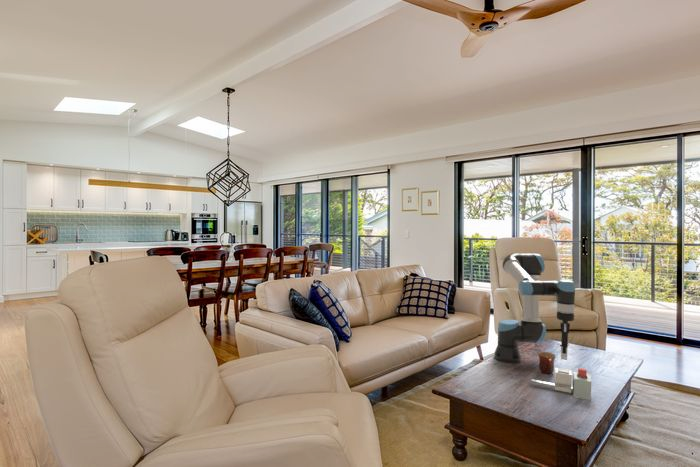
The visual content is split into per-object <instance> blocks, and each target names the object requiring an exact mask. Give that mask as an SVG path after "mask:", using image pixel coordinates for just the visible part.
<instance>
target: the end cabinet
mask: <svg viewBox="0 0 700 467" xmlns="http://www.w3.org/2000/svg"><path fill="white" fill-rule="evenodd" d="M572 373H573V374H572V387H573V394H572V395H573V398H577V399H581V400H586V401H591V400H592V379H591V378H592V377H591V374H589V373H587V376H586V377H580V376H578V371H573V372H572Z"/></svg>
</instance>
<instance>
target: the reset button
mask: <svg viewBox="0 0 700 467" xmlns="http://www.w3.org/2000/svg"><path fill="white" fill-rule="evenodd" d="M577 372H578V376H580V377H586V376H587V374H588V373H587V372H588V370H587V369H586V368H578V369H577Z"/></svg>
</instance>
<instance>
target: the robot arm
mask: <svg viewBox="0 0 700 467" xmlns="http://www.w3.org/2000/svg"><path fill="white" fill-rule="evenodd" d="M502 260H503V261H502V269H503V271H504V272H505V273H507V274H509V275H510V276H511V278H513V280H514V281H515V282H516V283H517V284H518V291H519V294H521V296H522V298H523V299H522V301H523V303H522V305H523V306H522V308H523V310H522V311H523V312H522V313H523V317H521V319H520V321H518V320H517V319H510V318H509V319H502V320H500V321H499V322H498V324H497V345H496V348H495V351H494V353H493V355H494V356H493V357H494V358H495V359H496V360H498V361H500V362H503V363H509V364H516V363H520V362H521V361H522V356H521V352H520V348H519V343H525V344H526V343H529V344H531V343H532V344H539V343H543V342H544V341H545V339H546V336H547V329H546V327H547V326H546V325H545V324H544V323H543V321H542V319H541V318H540V312H539V311H540V305H539V300H540V299H539V298H540V296H549V297H551V296H554V297H556V301H557V302H556V310H557V311H556V319H557V320H559V321H561V322H560V323H559V324H560V333H561V340H560V343H561V344H559V347H560V360H564V361H568V349H569V348H568V346H569V345H570V343H569V342H568V339H569V337H568V336H569V333H570V322H573V321H574V320H575V313H574V312H575V309H576V305H575V296H576V282H574V281H573V280H569V279H559V280H555V279H554V280H553V279H551V280H539V278H540V277H541V276H542V273H544V272H545V268H546V267H545V265H546V264H545V260H544V258H543V256H542V255H541V254H539V253H532V252H531V253H528V252H527V253H525V252H524V253H523V252H522V253H515V252H514V253H510V254H507V256H505V258H504V259H502Z"/></svg>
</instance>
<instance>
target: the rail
mask: <svg viewBox="0 0 700 467" xmlns="http://www.w3.org/2000/svg"><path fill="white" fill-rule="evenodd" d="M530 386H532V387H535V386H536V388H540V389H541V388H542V389H546V390H551V391H557V392H562V393H567V394H572V395H573V386H571V393H569V392H564V391H559V390H555V382H548V381H543V380H538V379H534V378H533V379H532V378H531V379H530Z"/></svg>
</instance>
